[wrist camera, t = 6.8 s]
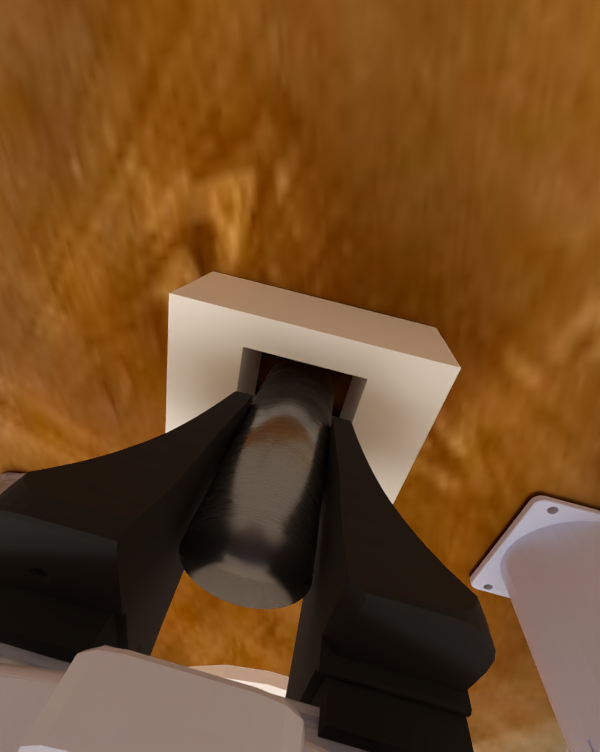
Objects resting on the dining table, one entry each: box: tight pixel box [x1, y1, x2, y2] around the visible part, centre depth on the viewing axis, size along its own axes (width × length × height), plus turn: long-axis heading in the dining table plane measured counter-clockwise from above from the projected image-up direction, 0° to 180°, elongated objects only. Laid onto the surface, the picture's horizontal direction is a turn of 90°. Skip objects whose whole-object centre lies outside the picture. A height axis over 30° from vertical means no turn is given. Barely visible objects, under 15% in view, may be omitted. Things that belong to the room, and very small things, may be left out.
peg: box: [179, 359, 335, 609], centre depth 11 cm, size 3×3×8 cm
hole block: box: [166, 271, 461, 504], centre depth 16 cm, size 10×14×4 cm
